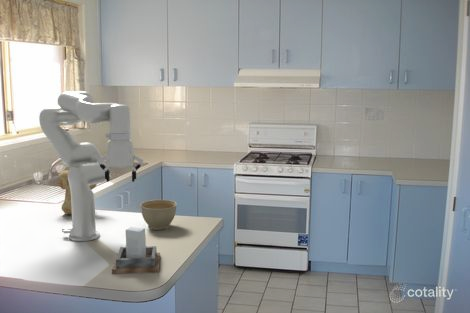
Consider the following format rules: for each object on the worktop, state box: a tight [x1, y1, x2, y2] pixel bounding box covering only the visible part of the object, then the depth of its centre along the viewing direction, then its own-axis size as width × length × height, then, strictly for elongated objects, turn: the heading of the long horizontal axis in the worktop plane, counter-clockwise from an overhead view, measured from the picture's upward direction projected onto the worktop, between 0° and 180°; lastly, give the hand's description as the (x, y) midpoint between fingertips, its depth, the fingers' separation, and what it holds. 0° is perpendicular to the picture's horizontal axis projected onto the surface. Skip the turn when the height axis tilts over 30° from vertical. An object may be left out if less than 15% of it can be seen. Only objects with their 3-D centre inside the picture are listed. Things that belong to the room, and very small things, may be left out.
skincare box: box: [125, 226, 147, 258], centre depth 185 cm, size 6×4×12 cm
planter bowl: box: [140, 199, 178, 231], centre depth 231 cm, size 16×16×11 cm
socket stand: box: [111, 245, 161, 275], centre depth 186 cm, size 16×16×4 cm
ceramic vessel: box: [57, 169, 98, 216], centre depth 254 cm, size 17×20×25 cm
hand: (120, 180), depth 197 cm, fingers open, 9 cm apart
